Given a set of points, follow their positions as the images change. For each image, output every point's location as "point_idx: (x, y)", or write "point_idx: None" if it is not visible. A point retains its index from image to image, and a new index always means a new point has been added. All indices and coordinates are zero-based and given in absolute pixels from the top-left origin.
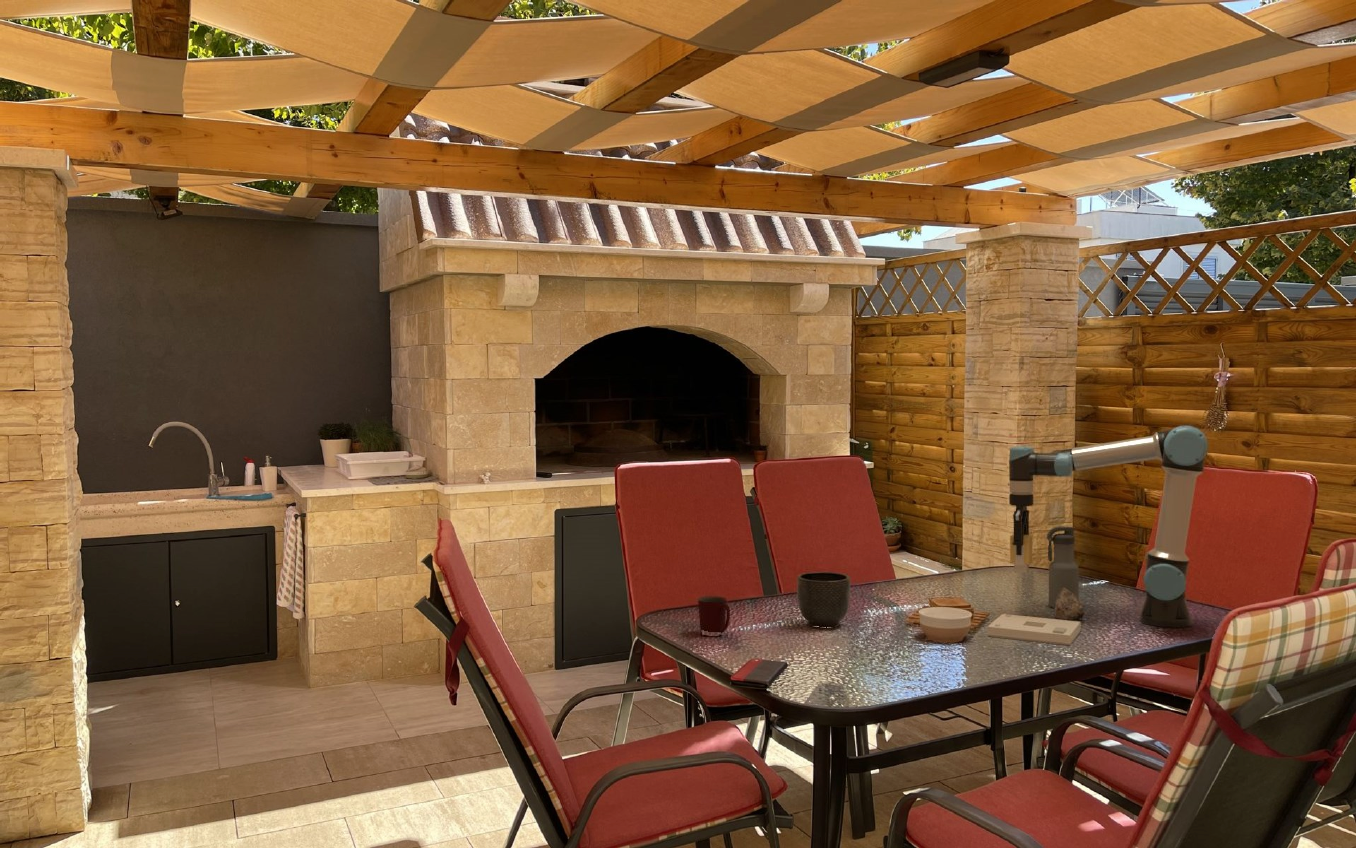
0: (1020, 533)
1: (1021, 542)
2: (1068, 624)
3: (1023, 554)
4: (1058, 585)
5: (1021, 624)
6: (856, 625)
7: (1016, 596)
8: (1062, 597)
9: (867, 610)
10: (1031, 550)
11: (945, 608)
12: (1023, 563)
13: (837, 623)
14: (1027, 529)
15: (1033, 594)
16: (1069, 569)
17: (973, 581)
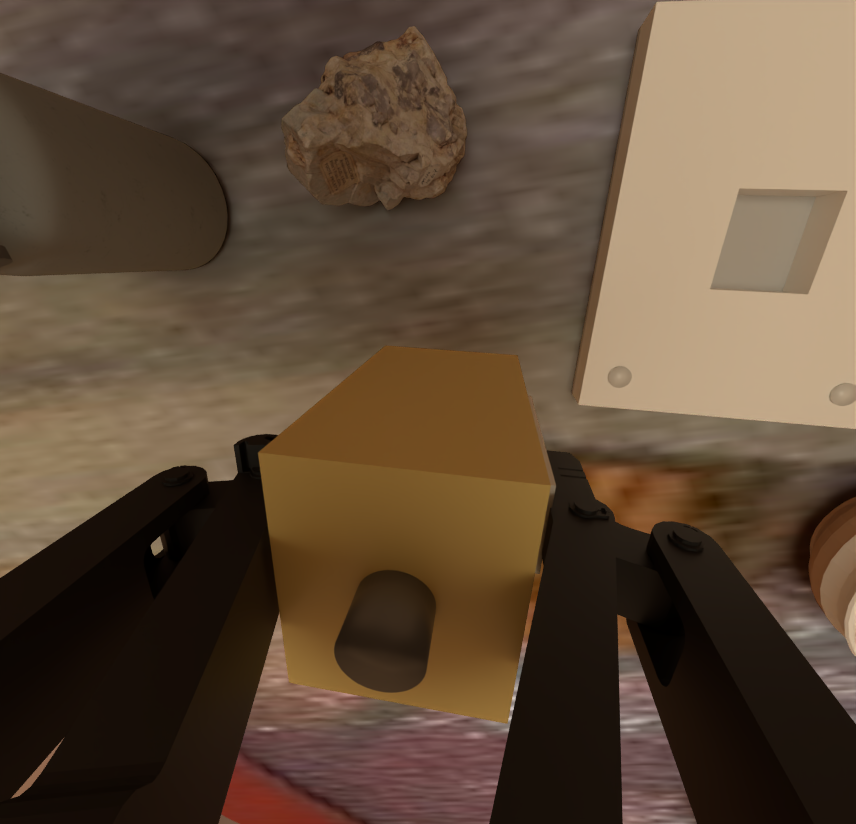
0: (829, 712)
1: (702, 542)
2: (749, 61)
3: (540, 434)
4: (152, 209)
5: (793, 301)
6: None
7: (112, 400)
8: (405, 140)
9: None
10: (391, 378)
11: (853, 615)
12: (531, 402)
13: None
14: (85, 583)
15: (43, 351)
16: (26, 113)
17: (6, 536)
